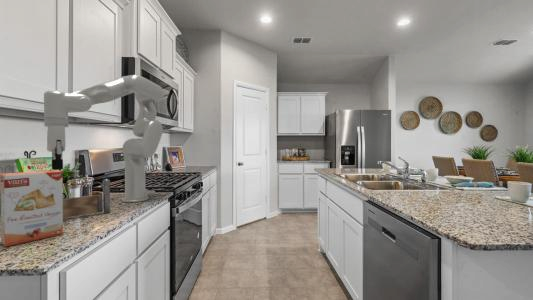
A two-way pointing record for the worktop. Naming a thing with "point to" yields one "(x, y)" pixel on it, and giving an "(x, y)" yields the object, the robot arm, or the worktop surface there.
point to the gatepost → (106, 196)
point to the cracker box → (31, 206)
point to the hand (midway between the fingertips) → (57, 169)
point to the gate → (82, 205)
